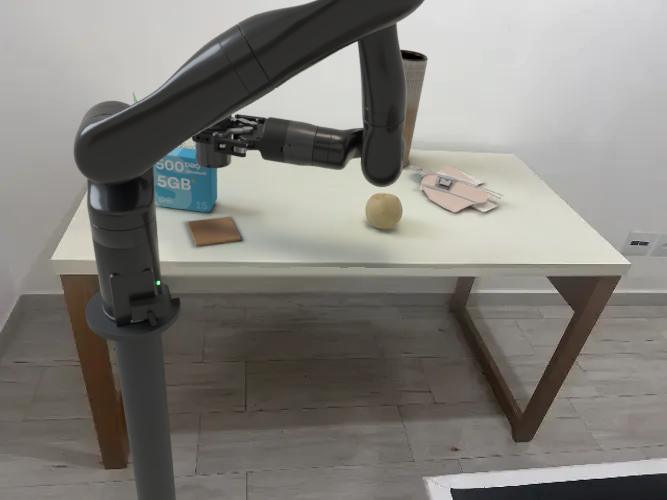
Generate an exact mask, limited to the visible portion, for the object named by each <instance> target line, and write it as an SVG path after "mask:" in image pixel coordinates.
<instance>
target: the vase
mask: <svg viewBox="0 0 667 500" xmlns="http://www.w3.org/2000/svg"><path fill="white" fill-rule="evenodd" d="M400 51H401V56H402V60H403V65H404V71H405V77H406V85H407V102H406V119H405V125H404V129H403V134H402V136H403V138H404V140H405V142H406V151H405V156H404V162H403V168H404V167H406V166H407V165H408V163H409V159H410V154H411V148H412V145H413V144H412V142H413V139H414V138H413V137H414V133H415V128H416V123H417V117H418V112H419V107H420V102H421V96H422V91H423V86H424V80H425V74H426V71H427V67H428V66H427V65H428V60H429V58H428V56H427V55H426V54H424V53H422V52H418V51H415V50H409V49H400Z"/></svg>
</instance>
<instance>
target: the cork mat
mask: <svg viewBox="0 0 667 500" xmlns="http://www.w3.org/2000/svg"><path fill="white" fill-rule="evenodd" d="M187 225H188V228H189V231H190V233H191V237H192V239H193V241H194V244H195V246H196V247H201V246H208V245H216V244H224V243H225V244H226V243H230V242H239V241H241V240H242V238H241V236H240V234H239V232H238V229H237V228H236V226H235V224H234V222H233V220H232V218H231V216H226V217H224V216H223V217H217V218H207V219H199V220H198V219H197V220H189V221H188V220H187Z"/></svg>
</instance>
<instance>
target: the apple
mask: <svg viewBox="0 0 667 500" xmlns="http://www.w3.org/2000/svg"><path fill="white" fill-rule="evenodd" d="M403 211H404V210H403V205H402V202H401V200H400V199H399V197H398V196H396V195H395V194H392V193H387V192H378V193H375V194H373V195H371V196H370V197H369V198H368V199H367V202H366V204H365V209H364V212H365V213H364V214H365V217H366V220H367V222H368V223H369V224H370V225H371V226H372V227H374V228H376V229H379V230H380V229H381V230H389V229H392V228H394V227H396V226H397V225H398V224H399V223H400V222H401V220H402V218H403Z"/></svg>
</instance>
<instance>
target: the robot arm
mask: <svg viewBox="0 0 667 500" xmlns="http://www.w3.org/2000/svg"><path fill="white" fill-rule="evenodd" d="M425 1H426V0H312V1H310V2H306V3H301V4H299V5H293V6H288V7H282V8H277V9H272V10H268V11H263V12H259V13H256V14H254V15H251V16H249V17H246V18H245V19H243V20H241V21H239V22H237V23H235V24H234V25H233V26H231V27H229V28H228V29H226V30H224V31H223V32H221V33H219V34H218V35H217V36H215V37H214V38H212V39H211V40H209V41H208V42H207V43H205V44H204V45H203V46H201V47H200V48H199V49H198V50H197V51H196V52H195V53H193V55H191V56H190V57H189V58H188V59H187V60H186V61H185V62H184V63H183V64H182V65H181V66H179V68H178V69H177V70H176V71H175V72H174V73H173V74H172V75H171V76H170V77H169V78H168V79H167V80H166V81H165V82H164V83H163V84H161V85H160V86H159V87H158V88H157V89H155V90H154V91H153V92H151V93H150V94H148V95H147V96H145V97H143V98H141V99H140V100H137V102H135V103H134V102H133V104H130V103H129V104H128V103H127V102H124V101H119V100H106V101H105V100H104V101H101V102H99V103H96V104H95V105H93V106H92V107H90V108H89V109H88V110H87V111H86V112H85V114H84V115H83V117H82V119H81V122H80V123H79V127H78V129H77V131H76V133H75V136H74V141H73V159H74V162H75V165H76V167H77V169H78V170H79V171H78V172H80V174H81V175H83V177H85V178H86V187H87V189H86V190H87V192H86V208H87V214H88V219H89V226H90V232H91V240H92V246H93V252H94V253H93V254H94V258H95V263H96V264H95V265H96V271H97V277H98V284H99V291H101V296H102V302H103V312H104V314H105V316H106V317H107V318H108V319H109V320H111V321H113V322H115V323H116V326H117V327H120V326H126V325H132V324H138V323H143V322H149V321H150V324H151V325H152V326H155V325H156V323H157V322H156V320H157V319H158V317H162V316H167V302H166V299H165V295H164V294H163V292H162V283H163V282H162V270H161V259H160V247H159V236H158V223H157V210H156V209H157V208H156V201H155V179H154V165H155V164H156V163H157V162H159V161H160V160H161V159H162V158H164V157H165V156H166V155H168V154H169V153H170V152H172V151H173V150H174V149H175V148H177V147H181V146H182V145H183V144H184V143H185V142H187V141H189V140H190V139H191V141H192V142H194V143H195V142H199V143H205V144H211V145H213V151H214V152H218V153H223V154H228V155H232V157H233V156H234V157H238V158H246V157H247V151H258V152H259V153H260V156H261V158H262V160H264V161H269V162H275V163H281V164H282V163H283V164H288V165H293V166H301V167H316V168H321V169H327V170H333V171H342V170H344V169H345V168H346V167H347V166H348V164H349V163H350V162H351V161H352V160H355V159H360V169H361V173H362V175H363V177H364V179H365V180H366V181H367V182H368V183H369V184H370V185H372V186H374V187H376V188H386V187H391V186H393V184H395V183H396V182H397V181H398V180H399V179H400V177H401V176H402V172H403V168H404V167H403V162H404V156H405V151H406V142H405V140H404V138H403V136H402V134H403V129H404V125H405V119H406V102H407V85H406V77H405V71H404V65H403V60H402V56H401V51H400V50H401V47H400V41H399V33H398V23H399V22H401V21H403V20H405V19H406V18H408V17H409V16H410V15H412V14H413V13H414V12H416V10H418V8H420V6H421V5H422V4H423V3H424V2H425ZM356 42H357V49H358V57H359V58H358V59H359V73H360V86H361V87H360V91H361V93H360V95H361V118H362V127H354V128H348V129H339V128H333V127H329V126H322V125H321V126H320V125H316V124H312V123H309V122H305V121H299V120H293V119H286V118H279V117H273V116H269V117H264V116H255V115H247V114H239V113H237V112H238V111H241V110H242V109H244V108H247V106H249V105H251V104H253V103H254V102H256V101H259V100H260V99H261V98H263V97H265V96H266V95H268V94H270V93H272V92H273V91H275V90H276V89H278V88H280V87H282V86H283V85H284V84H286V83H287V82H289V81H290V80H291V79H293V78H294V77H296V76H298V75H300V74H301V73H303V72H305V71H307V70H308V69H310V68H312V67H314V66H316V65H317V64H318V63H321V62H322V61H324V60H326V59H327V58H329V57H331V56H332V55H334V54H336V53H337V52H339V51H341V50H343V49H345V48H347V47H349V46H351V45H352V44H354V43H356ZM235 113H236V114H235ZM230 115H234V116H232V129H227V130H226V131H224V132H214V131H209V130H206V129H208V128H209V127H211V126H213V125H215V124H217V123H218V122H220V121H222V120H223V119H225V118H227V117H228V116H230ZM225 137H226V138H225ZM221 147H225V148H221Z"/></svg>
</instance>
